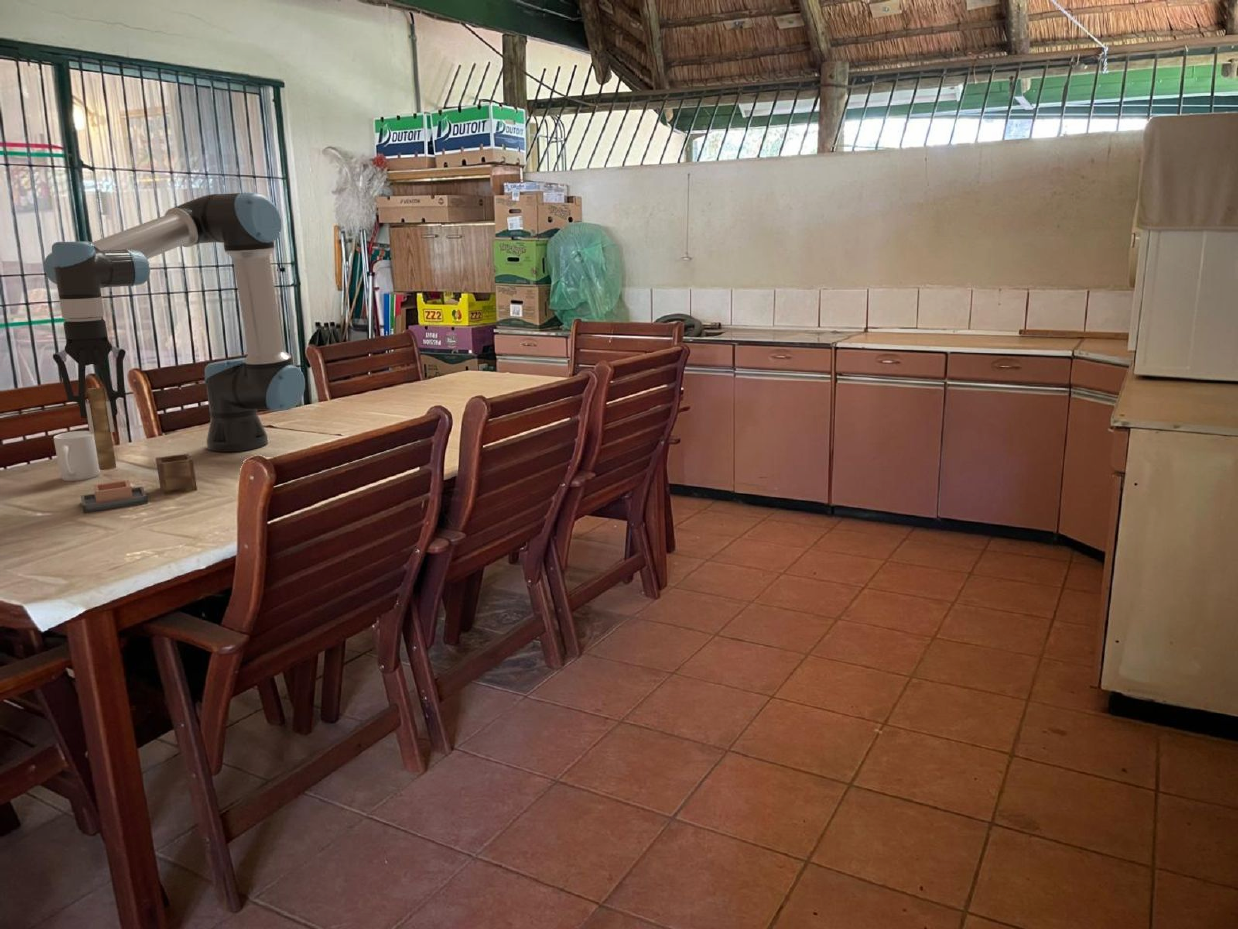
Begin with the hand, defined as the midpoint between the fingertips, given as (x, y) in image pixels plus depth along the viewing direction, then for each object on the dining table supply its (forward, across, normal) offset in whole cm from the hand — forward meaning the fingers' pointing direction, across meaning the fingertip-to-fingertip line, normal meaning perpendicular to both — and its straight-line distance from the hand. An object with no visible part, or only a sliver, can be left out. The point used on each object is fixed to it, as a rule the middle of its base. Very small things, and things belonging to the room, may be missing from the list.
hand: (102, 431), depth 194 cm
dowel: (+8, 0, 0) cm, 8 cm away
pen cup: (+16, -13, -4) cm, 21 cm away
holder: (+15, 0, 0) cm, 15 cm away
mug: (+16, +6, -28) cm, 33 cm away
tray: (+16, 0, 0) cm, 16 cm away
